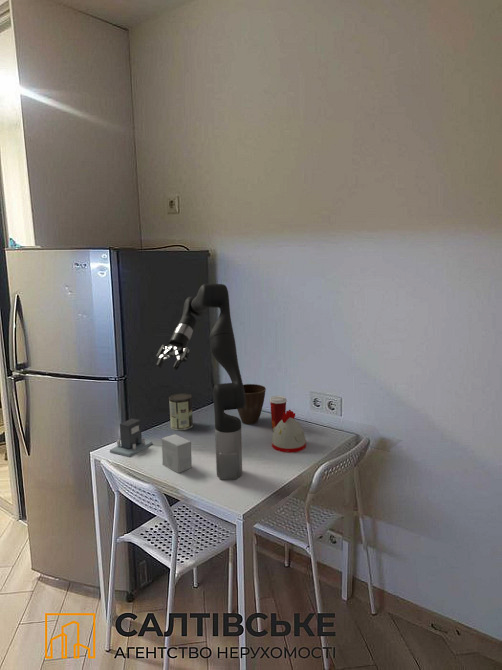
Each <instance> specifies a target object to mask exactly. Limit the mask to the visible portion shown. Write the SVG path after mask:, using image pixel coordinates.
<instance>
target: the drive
mask: <svg viewBox="0 0 502 670" xmlns="http://www.w3.org/2000/svg"><path fill="white" fill-rule="evenodd" d="M119 429H120V444H121V447H122V448H125V449H129V450H131V449H132V448H133V444H134V443H135V444H136V446H138V445H140V444H142V439H143V437H142V436H143V435H142V422H141V419H137V418H130V419H127V420H126V421H123V422H121V423H120V424H119Z"/></svg>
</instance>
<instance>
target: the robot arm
mask: <svg viewBox="0 0 502 670" xmlns="http://www.w3.org/2000/svg"><path fill="white" fill-rule="evenodd" d="M229 297H230V296H229V290H228V288H227V286H226V285H225V284H223V283H204V284H202V285H200V287H199V289H198V291H197V294H196V296H195V297H194V296H187V298H186V299H185V300H184V302H183V310H182V315H181V318H180V320H179V322H178V324H177V326H176V328H175V329H174V331H173V333H172V335H171V337H170V339H169V344H168V345H167V346H165V344H162V345H161V347H160V348H159V349H158V351H157V353H156V355H155V356H156V358H157V359H158V360H157V361H156V367H157V368H158V369H161V368H162V365H163V364H164V361H165V360H166V359H169V358H176V360H175V362H174V364H173V366H172V368H173V370H174V371H177V370H179V368H180V365H181V364H182V363H186V362H187V361H188V358H189V356H190V352H191V350H190V349H189V347H188V344H189V342H190V340H191V338H192V336H193V332H194V330H195V327H196V325H197V323H198V321H197V318H195V317H198V318H203V317H204V316H205V314H206V313H207V310H208V309H210V308H219V311H220V313H219V316H218V318H217V320H216V322H215V323H214V326H213V327H212V328H211V330H210V333H209V346H210V351H211V355H212V357H213V358H214V359H215V361H217V363H218V364H219V366H221V367H222V368H223V369H224V370H225V372H226V373H227V374H228V376H229V378H230V381H231V382H228V383H227V382H226V383H225V382H224V383H216V384H215V385H213V389H212V399H213V409H214V427H215V428H214V431H215V432H214V433H215V435H214V437H215V465H216V467H215V468H216V469H215V470H216V476H217V477H218V478H219V480H238V478H240V477H241V476H242V475H243V449H242V448H243V445H242V440H243V438H242V421H241V418H240V417H238V416H235V415H231V414H228V413H226V412H225V411H231V410H232V411H233V410H238V409H241V408H243V407H244V406H245V391H244V387H243V385H244V383H243V379H242V374H241V371H240V366H239V360H238V354H237V353H238V352H237V347H236V338H235V334H234V329H233V323H232V318H231V307H230V298H229Z"/></svg>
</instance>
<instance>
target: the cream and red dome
mask: <svg viewBox="0 0 502 670" xmlns="http://www.w3.org/2000/svg"><path fill="white" fill-rule="evenodd" d="M281 418H282V420H281V421H280V422H279V423H278V425H277V426H276V427H274V428H272V433H273V434H272V436H271V447H272V448H273V449H274V450H276V451H279V452H282V453H297V452H298V453H299V452H301V451H303V450H305V448H306V447H307V442H306V436H305V431H304V430H303V428H302V426H301V424H300V423H299V422H298V421H297V419H295V418H296V413H295V412H294V411H292V410H291V409H288V410H286V413H285V412H284V413H283V416H281Z"/></svg>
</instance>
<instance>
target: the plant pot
mask: <svg viewBox="0 0 502 670" xmlns="http://www.w3.org/2000/svg"><path fill="white" fill-rule="evenodd" d="M243 387H244V391H245V406H244V407H243V408H241V409H237V411H238V415H239V419H240V420H241V423H243V424H245V425H254V424H257V423H258V422H259V419H260V415H261V414H262V410H263V406H264V402H265V397H266V389H267V388H266V387H265V386H263V385H260V384H255V383H246V384H245V383H243Z"/></svg>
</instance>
